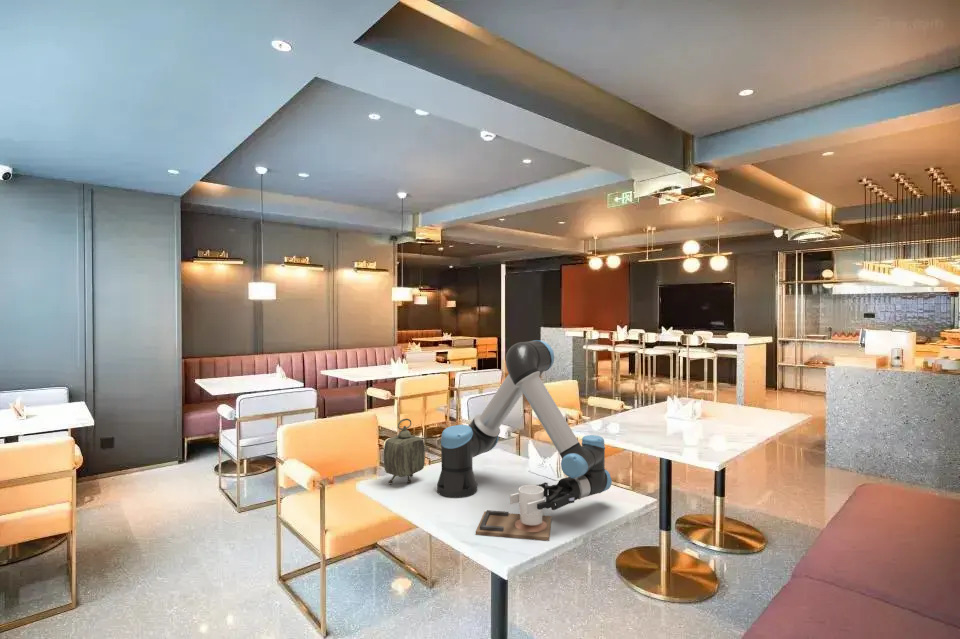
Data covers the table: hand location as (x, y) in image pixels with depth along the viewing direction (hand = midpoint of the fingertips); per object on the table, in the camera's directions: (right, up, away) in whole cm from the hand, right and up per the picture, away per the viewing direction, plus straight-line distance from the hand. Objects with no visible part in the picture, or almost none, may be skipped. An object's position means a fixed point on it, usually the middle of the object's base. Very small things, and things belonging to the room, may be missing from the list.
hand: (519, 503), depth 152 cm
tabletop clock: (-41, -8, +44) cm, 61 cm away
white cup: (+4, -7, +3) cm, 8 cm away
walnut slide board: (-1, -9, +4) cm, 10 cm away
